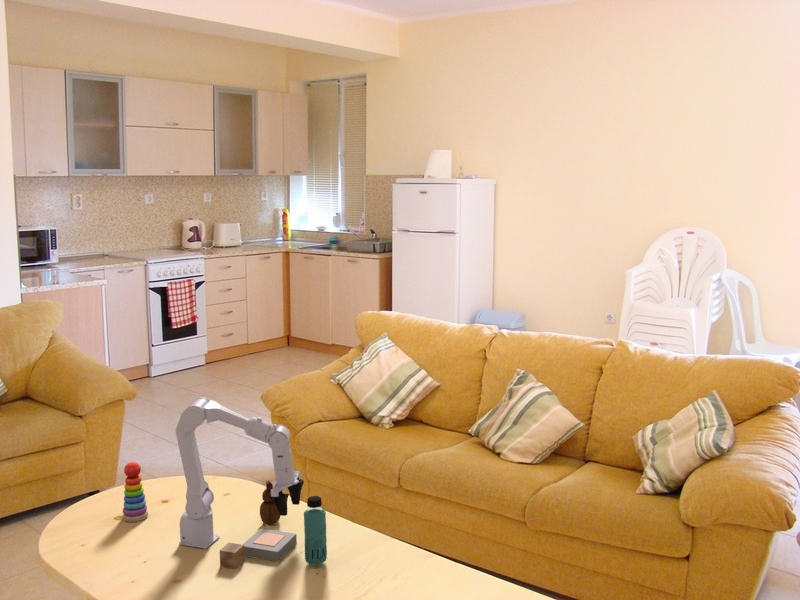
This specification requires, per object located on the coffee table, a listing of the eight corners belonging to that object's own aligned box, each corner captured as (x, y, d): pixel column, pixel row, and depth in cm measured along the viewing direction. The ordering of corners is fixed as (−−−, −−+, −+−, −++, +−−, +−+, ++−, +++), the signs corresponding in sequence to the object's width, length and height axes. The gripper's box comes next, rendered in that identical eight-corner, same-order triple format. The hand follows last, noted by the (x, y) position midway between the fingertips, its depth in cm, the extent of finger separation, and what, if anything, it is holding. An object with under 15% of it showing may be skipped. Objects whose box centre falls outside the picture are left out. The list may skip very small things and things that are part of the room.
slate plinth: (241, 555, 224) (240, 545, 223) (261, 537, 235) (260, 527, 235) (278, 561, 220) (277, 551, 220) (296, 543, 231) (296, 533, 231)
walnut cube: (220, 566, 218) (219, 550, 217) (229, 558, 222) (228, 542, 222) (235, 569, 216) (235, 552, 215) (244, 561, 221) (244, 544, 220)
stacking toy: (153, 516, 251) (150, 461, 248) (133, 525, 244) (130, 469, 241) (137, 510, 255) (134, 456, 252) (117, 519, 248) (113, 464, 245)
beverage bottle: (309, 572, 214) (307, 504, 211) (301, 561, 220) (299, 495, 217) (331, 566, 217) (329, 499, 214) (322, 556, 223) (320, 491, 220)
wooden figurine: (269, 529, 241) (267, 483, 238) (256, 524, 244) (255, 479, 242) (284, 521, 246) (283, 477, 244) (272, 516, 250) (270, 473, 247)
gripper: (283, 476, 220) (289, 521, 222) (307, 458, 234) (312, 499, 236) (262, 476, 223) (268, 519, 225) (286, 457, 236) (292, 498, 238)
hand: (289, 509), depth 231 cm, fingers open, 7 cm apart
